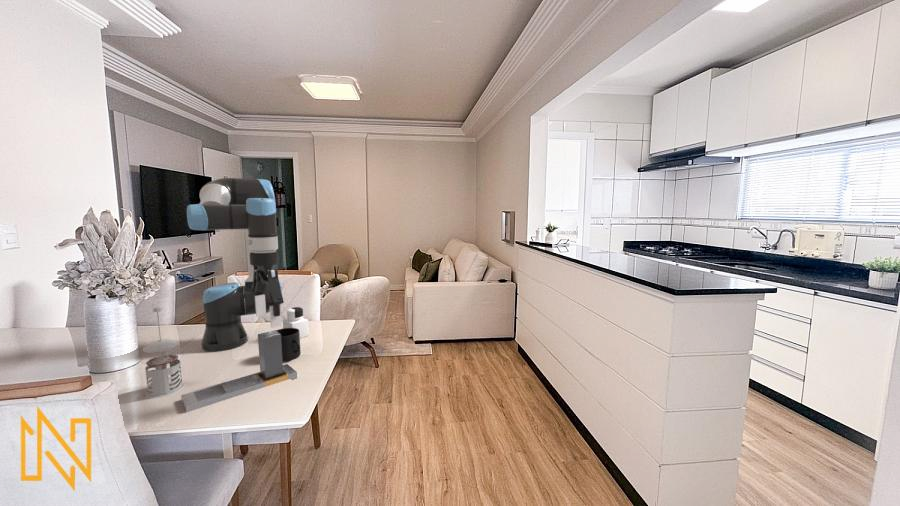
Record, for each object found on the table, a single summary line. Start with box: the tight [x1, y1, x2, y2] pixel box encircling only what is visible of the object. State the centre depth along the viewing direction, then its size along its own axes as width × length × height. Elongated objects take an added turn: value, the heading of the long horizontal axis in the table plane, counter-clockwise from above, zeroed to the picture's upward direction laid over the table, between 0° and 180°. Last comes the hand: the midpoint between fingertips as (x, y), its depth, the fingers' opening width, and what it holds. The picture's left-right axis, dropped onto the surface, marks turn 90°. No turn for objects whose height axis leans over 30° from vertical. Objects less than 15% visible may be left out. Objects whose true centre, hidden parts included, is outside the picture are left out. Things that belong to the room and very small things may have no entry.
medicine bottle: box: [282, 306, 310, 339], centre depth 145 cm, size 7×7×12 cm
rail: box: [180, 363, 298, 413], centre depth 103 cm, size 8×28×2 cm, turn 134°
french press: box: [142, 306, 186, 399], centre depth 101 cm, size 10×12×25 cm
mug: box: [274, 327, 301, 363], centre depth 125 cm, size 9×12×9 cm
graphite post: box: [257, 329, 284, 381], centre depth 108 cm, size 5×5×14 cm
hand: (268, 320), depth 107 cm, fingers open, 13 cm apart
